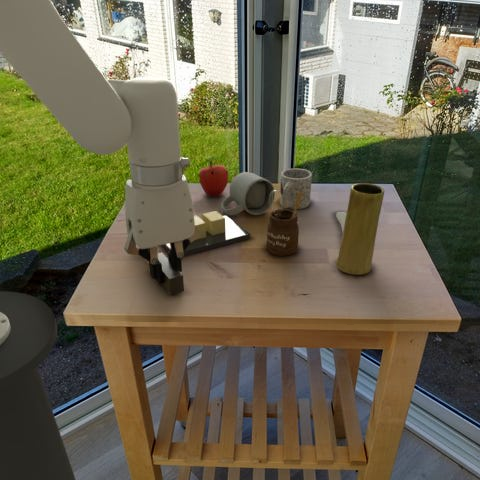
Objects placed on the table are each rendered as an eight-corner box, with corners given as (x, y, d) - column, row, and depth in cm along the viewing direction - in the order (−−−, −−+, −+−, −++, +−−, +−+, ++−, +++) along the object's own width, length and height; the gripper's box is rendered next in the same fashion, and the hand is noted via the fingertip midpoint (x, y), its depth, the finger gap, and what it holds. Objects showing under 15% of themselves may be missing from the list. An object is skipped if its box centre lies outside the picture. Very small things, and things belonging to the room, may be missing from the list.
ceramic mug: (255, 198, 113) (255, 165, 108) (275, 211, 107) (275, 176, 102) (214, 208, 109) (212, 174, 104) (232, 222, 103) (231, 187, 98)
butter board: (174, 258, 91) (174, 253, 90) (154, 237, 98) (154, 232, 97) (250, 238, 97) (250, 233, 96) (226, 219, 104) (226, 215, 103)
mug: (286, 195, 114) (288, 166, 110) (313, 200, 112) (316, 171, 108) (269, 211, 107) (269, 181, 103) (297, 216, 105) (299, 186, 101)
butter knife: (349, 211, 106) (335, 211, 106) (361, 268, 87) (345, 267, 87) (349, 213, 106) (335, 213, 106) (361, 270, 87) (344, 269, 87)
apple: (196, 191, 117) (193, 148, 111) (223, 187, 119) (221, 145, 113) (206, 203, 111) (203, 159, 105) (234, 198, 113) (233, 155, 107)
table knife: (143, 243, 95) (141, 229, 93) (184, 291, 81) (183, 275, 79) (131, 246, 94) (129, 232, 92) (170, 295, 80) (169, 279, 78)
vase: (374, 276, 85) (391, 196, 77) (338, 274, 85) (352, 194, 77) (367, 259, 90) (382, 182, 82) (333, 258, 90) (345, 181, 82)
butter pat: (212, 235, 96) (211, 221, 94) (203, 227, 99) (202, 213, 97) (225, 232, 97) (225, 218, 95) (216, 224, 100) (215, 210, 98)
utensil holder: (276, 239, 97) (279, 179, 90) (304, 247, 94) (309, 186, 87) (259, 251, 93) (260, 189, 86) (288, 260, 90) (292, 197, 83)
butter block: (177, 244, 93) (176, 229, 91) (169, 236, 96) (168, 221, 94) (206, 237, 95) (205, 222, 94) (197, 229, 98) (196, 215, 96)
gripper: (195, 155, 79) (200, 257, 89) (95, 172, 72) (113, 280, 83) (216, 169, 73) (219, 276, 84) (110, 189, 67) (128, 302, 78)
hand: (166, 277), depth 84 cm, fingers closed on table knife, 2 cm apart
